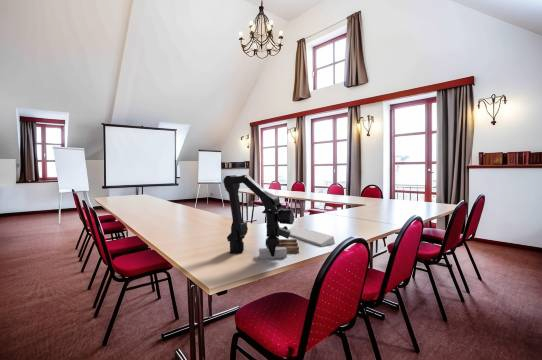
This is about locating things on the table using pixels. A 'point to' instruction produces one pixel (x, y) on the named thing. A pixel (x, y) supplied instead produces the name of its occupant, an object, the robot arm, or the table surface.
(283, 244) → the drying rack
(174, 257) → the table surface
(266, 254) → the clay strip
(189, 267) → the table surface
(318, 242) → the decorative molding
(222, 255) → the table surface
